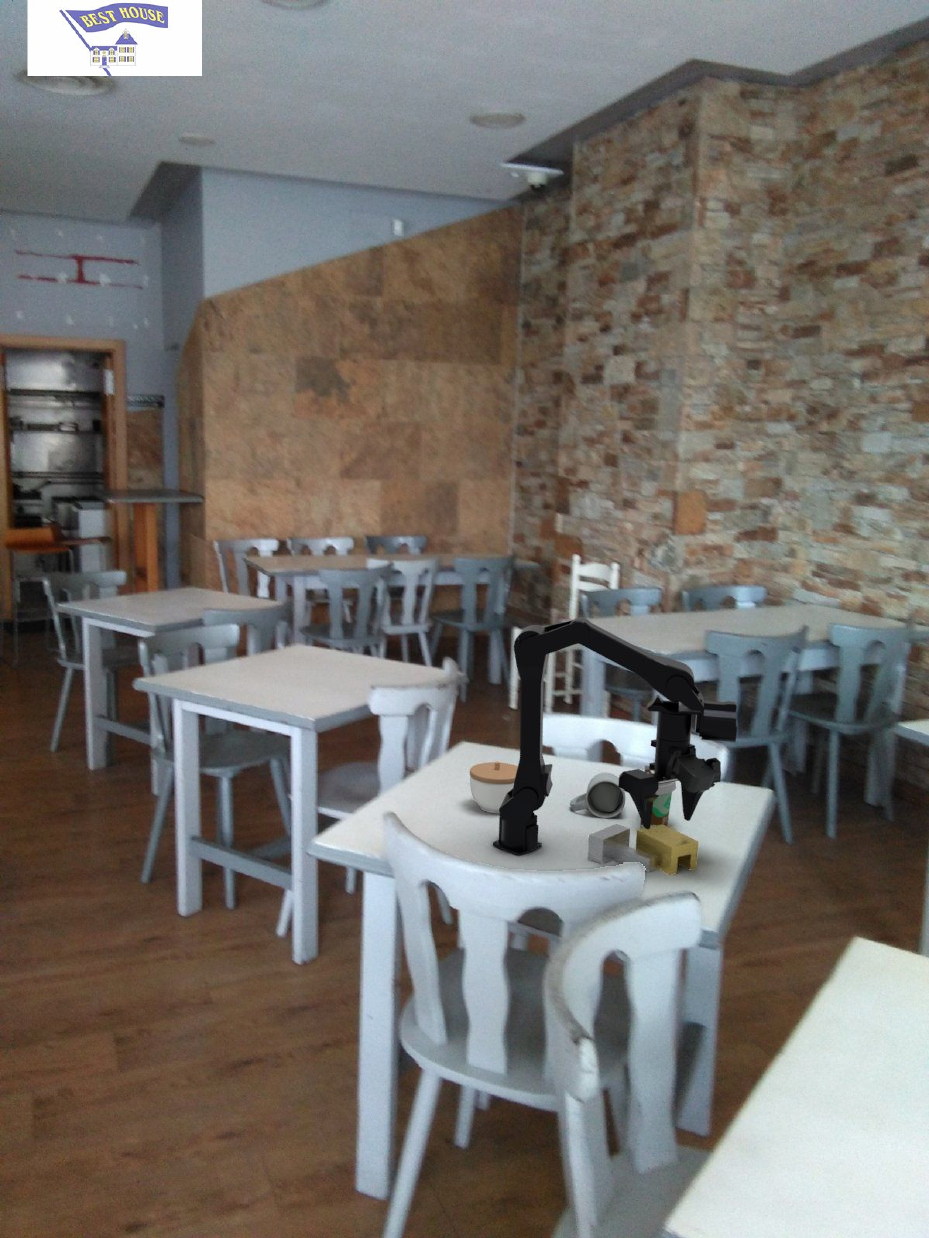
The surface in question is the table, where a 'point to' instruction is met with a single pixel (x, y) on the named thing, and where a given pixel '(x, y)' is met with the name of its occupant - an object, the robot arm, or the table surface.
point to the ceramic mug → (601, 797)
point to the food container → (661, 802)
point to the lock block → (668, 848)
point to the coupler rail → (616, 847)
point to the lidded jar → (491, 784)
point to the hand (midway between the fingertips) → (667, 824)
